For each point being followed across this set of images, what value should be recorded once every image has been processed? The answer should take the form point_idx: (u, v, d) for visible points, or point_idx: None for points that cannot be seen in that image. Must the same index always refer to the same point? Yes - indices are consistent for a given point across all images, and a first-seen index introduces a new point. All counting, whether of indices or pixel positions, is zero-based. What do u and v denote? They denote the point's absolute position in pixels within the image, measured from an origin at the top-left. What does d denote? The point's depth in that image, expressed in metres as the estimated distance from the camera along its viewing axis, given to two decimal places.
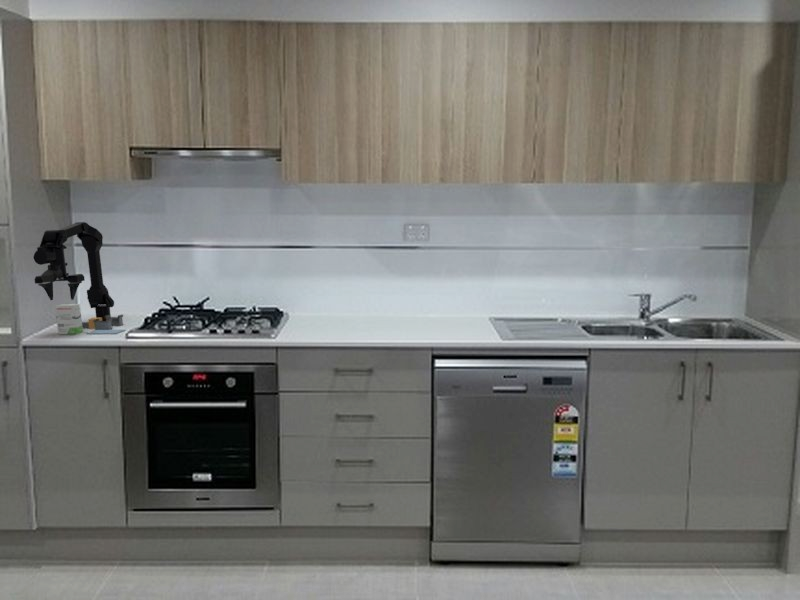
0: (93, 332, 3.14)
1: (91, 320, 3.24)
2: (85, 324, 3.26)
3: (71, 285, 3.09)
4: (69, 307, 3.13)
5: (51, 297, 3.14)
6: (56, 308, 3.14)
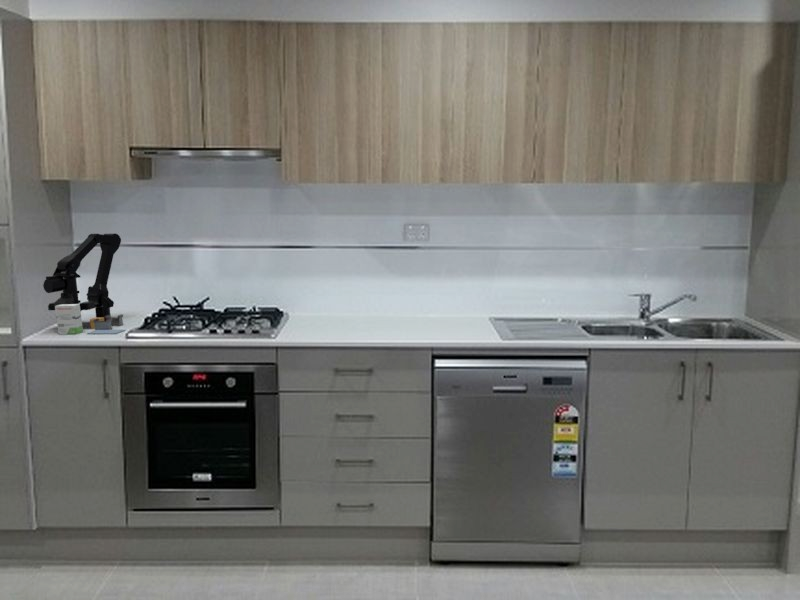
0: (93, 332, 3.14)
1: None
2: (87, 324, 3.26)
3: None
4: (69, 307, 3.13)
5: None
6: (56, 308, 3.14)
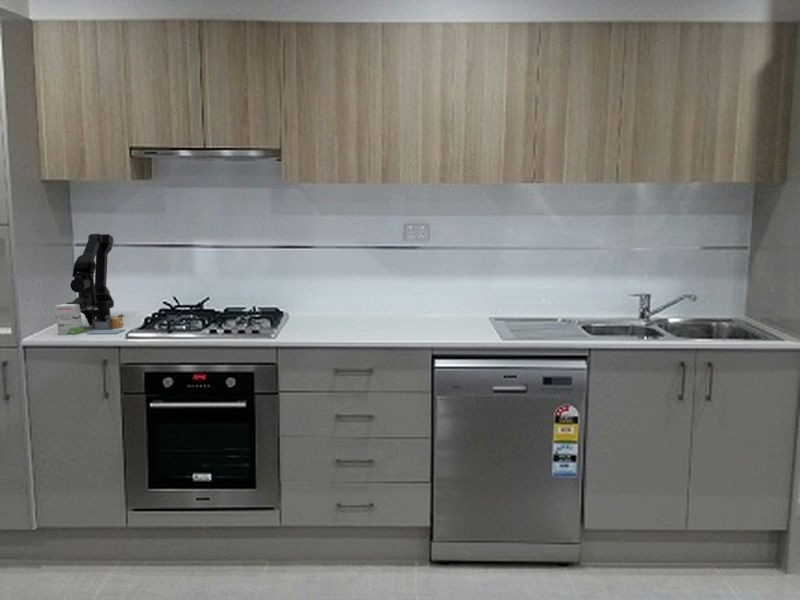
0: (93, 332, 3.14)
1: None
2: None
3: (90, 312, 3.23)
4: (69, 307, 3.13)
5: None
6: (56, 308, 3.14)
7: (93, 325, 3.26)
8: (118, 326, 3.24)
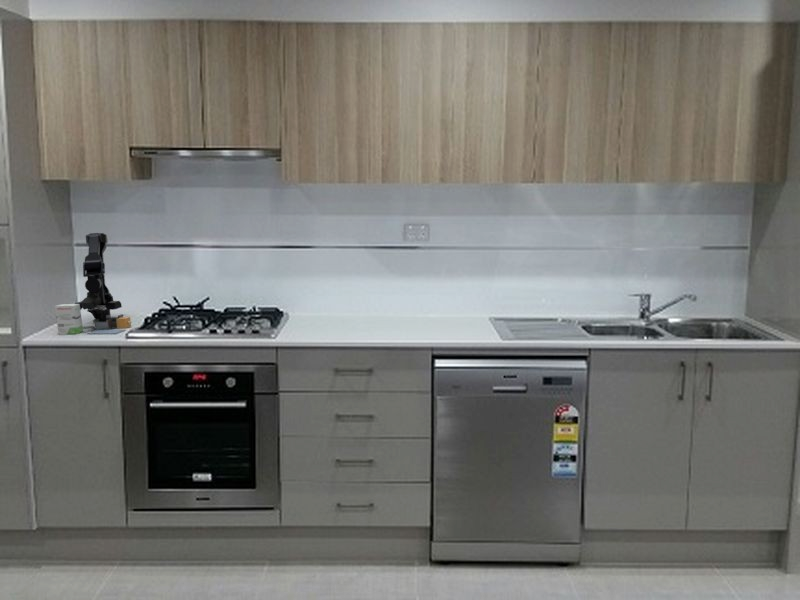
0: (93, 332, 3.14)
1: (119, 320, 3.22)
2: (113, 324, 3.24)
3: (99, 312, 3.23)
4: (69, 307, 3.13)
5: None
6: (56, 308, 3.14)
7: None
8: (127, 326, 3.23)
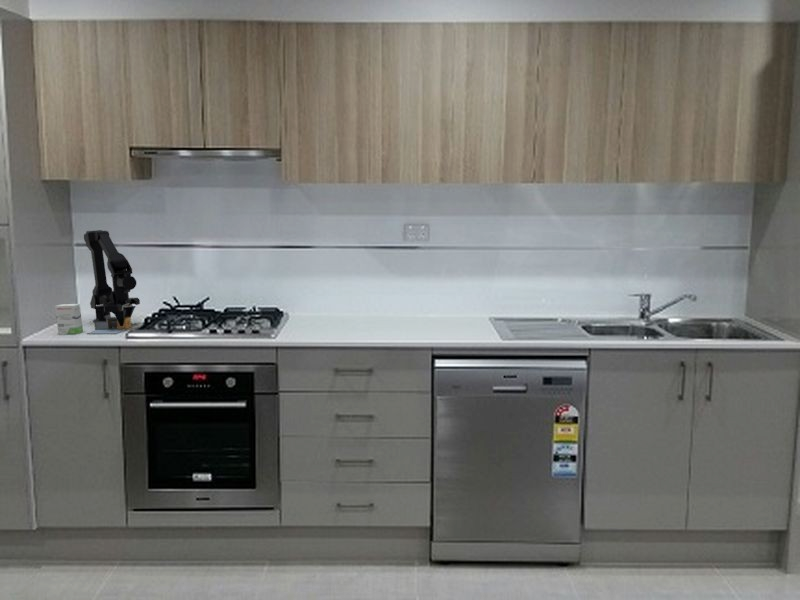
0: (93, 332, 3.14)
1: None
2: (113, 324, 3.24)
3: None
4: (69, 307, 3.13)
5: None
6: (56, 308, 3.14)
7: None
8: (127, 326, 3.23)
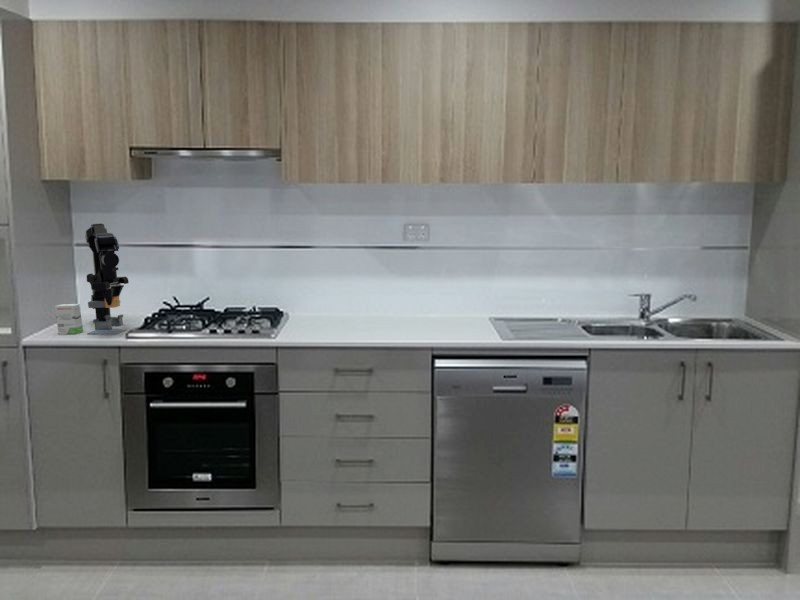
0: (93, 332, 3.14)
1: None
2: (101, 303, 3.13)
3: None
4: (69, 307, 3.13)
5: None
6: (56, 308, 3.14)
7: (89, 304, 3.14)
8: (116, 305, 3.12)
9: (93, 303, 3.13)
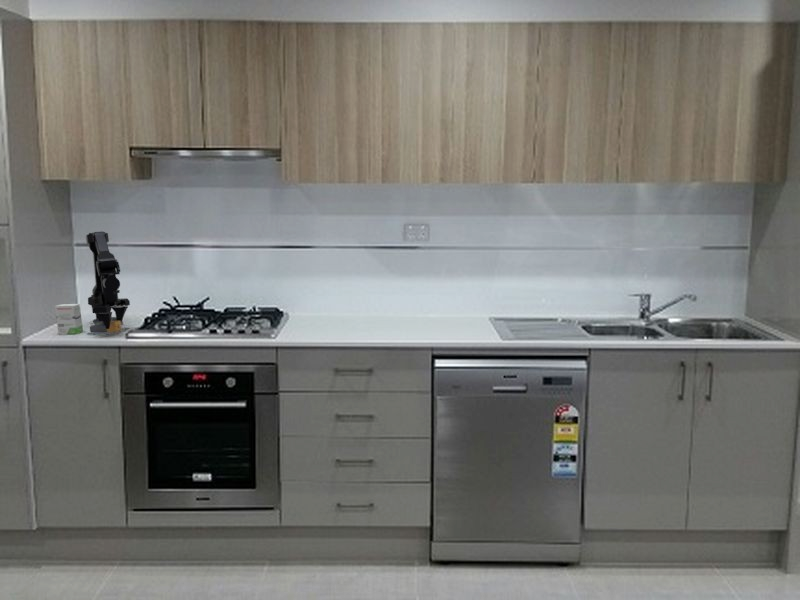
0: (93, 332, 3.14)
1: None
2: (103, 327, 3.14)
3: None
4: (69, 307, 3.13)
5: None
6: (56, 308, 3.14)
7: (91, 329, 3.15)
8: (117, 330, 3.13)
9: (95, 327, 3.15)
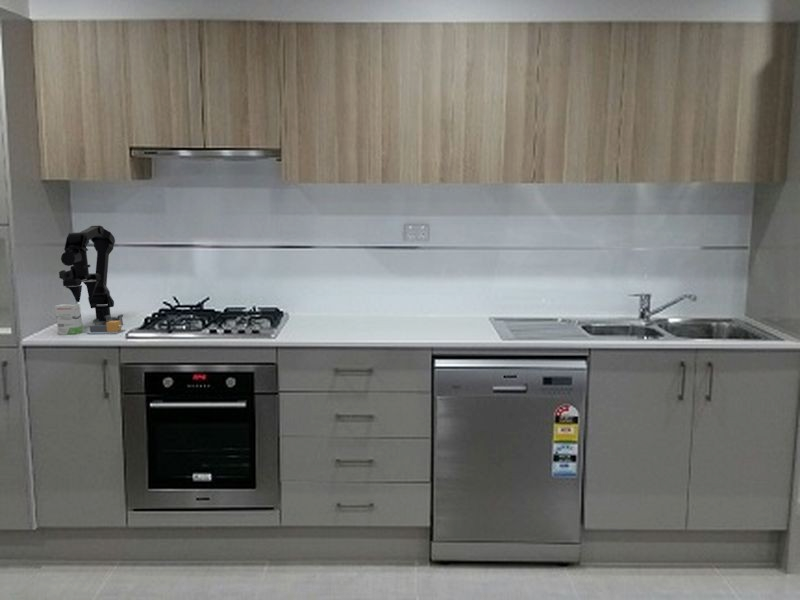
0: (93, 332, 3.14)
1: (109, 323, 3.12)
2: (103, 327, 3.14)
3: None
4: (69, 307, 3.13)
5: (89, 295, 3.28)
6: (56, 308, 3.14)
7: (91, 329, 3.15)
8: (117, 330, 3.13)
9: (95, 327, 3.15)
